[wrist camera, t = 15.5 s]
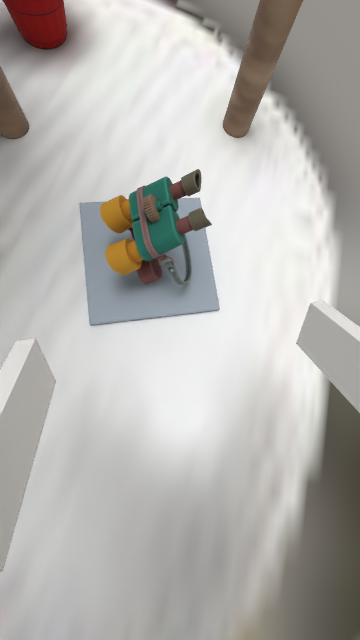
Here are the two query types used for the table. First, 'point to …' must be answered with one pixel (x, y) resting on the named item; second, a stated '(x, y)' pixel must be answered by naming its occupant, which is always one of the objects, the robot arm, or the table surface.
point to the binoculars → (152, 228)
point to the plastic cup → (39, 21)
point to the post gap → (251, 82)
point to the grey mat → (128, 290)
